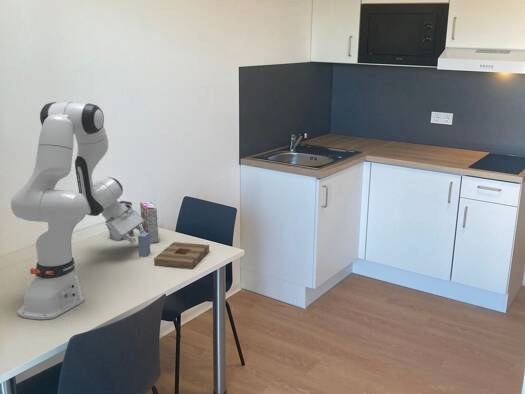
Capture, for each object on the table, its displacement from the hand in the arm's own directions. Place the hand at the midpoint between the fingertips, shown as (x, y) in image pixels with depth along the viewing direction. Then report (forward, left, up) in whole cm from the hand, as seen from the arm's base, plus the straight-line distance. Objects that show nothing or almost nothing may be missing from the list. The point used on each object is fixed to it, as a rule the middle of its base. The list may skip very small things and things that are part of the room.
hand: (139, 238), depth 233 cm
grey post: (0, -2, -7) cm, 7 cm away
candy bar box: (+18, +4, -7) cm, 20 cm away
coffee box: (+18, +18, -7) cm, 26 cm away
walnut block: (0, -19, -7) cm, 20 cm away
